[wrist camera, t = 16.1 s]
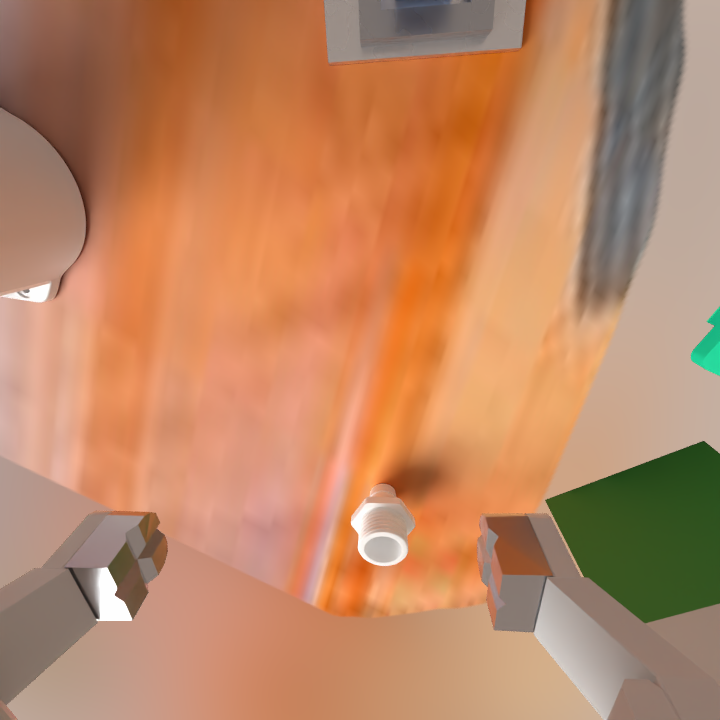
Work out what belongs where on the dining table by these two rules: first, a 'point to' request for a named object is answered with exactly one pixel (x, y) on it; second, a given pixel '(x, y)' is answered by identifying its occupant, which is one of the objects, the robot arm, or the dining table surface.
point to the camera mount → (709, 347)
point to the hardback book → (655, 545)
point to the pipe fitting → (383, 526)
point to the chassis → (420, 29)
